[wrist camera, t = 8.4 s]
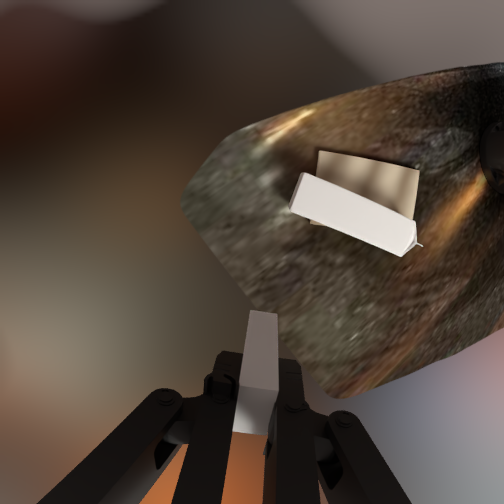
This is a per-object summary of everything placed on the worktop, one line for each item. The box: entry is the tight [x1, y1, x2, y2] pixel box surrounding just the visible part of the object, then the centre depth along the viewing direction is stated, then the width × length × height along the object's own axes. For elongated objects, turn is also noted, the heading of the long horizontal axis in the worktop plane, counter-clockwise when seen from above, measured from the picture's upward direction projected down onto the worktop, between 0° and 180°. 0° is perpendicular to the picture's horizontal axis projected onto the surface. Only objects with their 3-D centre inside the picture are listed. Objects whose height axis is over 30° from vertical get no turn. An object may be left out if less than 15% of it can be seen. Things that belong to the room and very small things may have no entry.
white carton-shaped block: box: [288, 172, 423, 257], centre depth 45 cm, size 6×6×22 cm
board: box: [310, 151, 419, 226], centre depth 47 cm, size 18×12×1 cm, turn 84°
